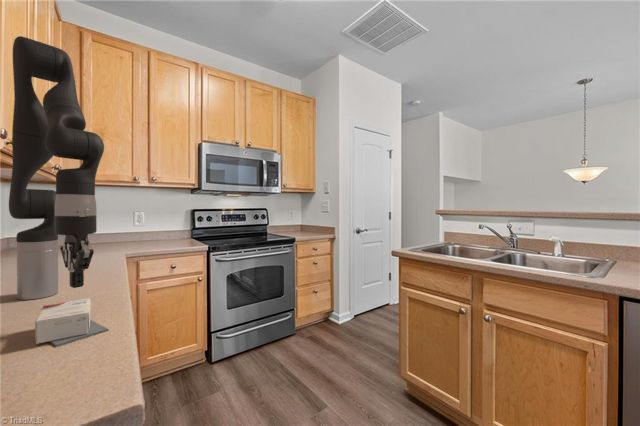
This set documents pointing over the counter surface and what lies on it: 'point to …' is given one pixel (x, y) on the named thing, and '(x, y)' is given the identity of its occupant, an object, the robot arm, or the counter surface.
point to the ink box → (63, 320)
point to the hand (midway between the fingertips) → (76, 286)
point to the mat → (93, 330)
